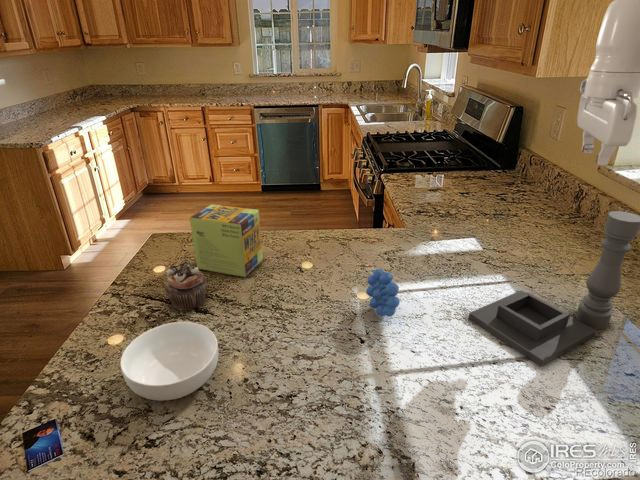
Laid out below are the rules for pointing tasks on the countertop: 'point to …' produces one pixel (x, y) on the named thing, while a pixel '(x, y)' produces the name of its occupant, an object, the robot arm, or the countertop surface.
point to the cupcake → (185, 287)
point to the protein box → (227, 239)
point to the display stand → (532, 326)
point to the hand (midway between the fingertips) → (593, 158)
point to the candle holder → (608, 269)
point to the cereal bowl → (170, 360)
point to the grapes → (383, 293)
